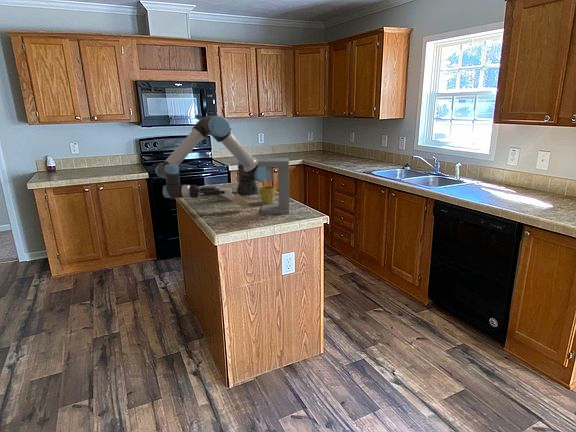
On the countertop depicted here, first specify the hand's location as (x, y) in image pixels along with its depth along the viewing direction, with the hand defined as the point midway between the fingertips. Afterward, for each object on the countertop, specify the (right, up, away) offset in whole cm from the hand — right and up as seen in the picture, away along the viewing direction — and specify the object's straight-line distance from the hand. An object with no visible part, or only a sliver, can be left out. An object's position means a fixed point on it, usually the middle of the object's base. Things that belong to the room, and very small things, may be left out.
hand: (231, 191), depth 217 cm
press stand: (+25, -11, +3) cm, 27 cm away
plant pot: (+20, -6, +22) cm, 30 cm away
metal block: (-2, -4, +1) cm, 4 cm away
